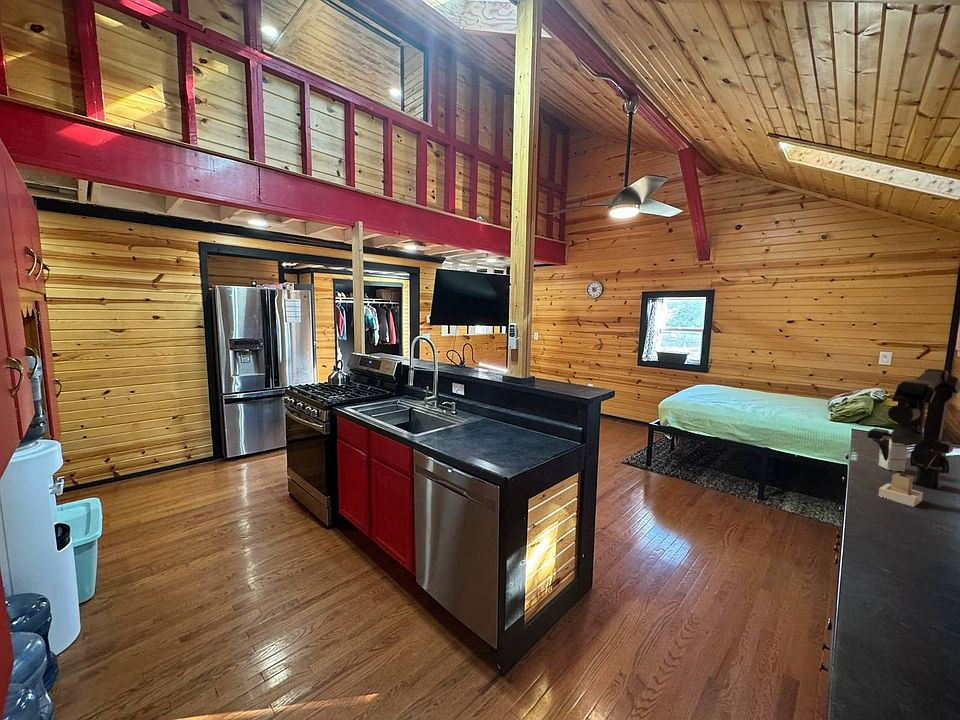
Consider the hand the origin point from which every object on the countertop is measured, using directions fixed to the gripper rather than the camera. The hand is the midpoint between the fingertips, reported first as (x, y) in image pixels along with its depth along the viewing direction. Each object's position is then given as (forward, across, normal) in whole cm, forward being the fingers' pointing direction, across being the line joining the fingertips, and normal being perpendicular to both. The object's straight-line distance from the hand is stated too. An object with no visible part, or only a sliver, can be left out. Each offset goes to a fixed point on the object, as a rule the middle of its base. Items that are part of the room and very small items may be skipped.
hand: (904, 464), depth 132 cm
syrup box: (+12, -11, +35) cm, 38 cm away
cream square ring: (+12, 0, 0) cm, 12 cm away
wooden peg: (+12, 0, 0) cm, 12 cm away
